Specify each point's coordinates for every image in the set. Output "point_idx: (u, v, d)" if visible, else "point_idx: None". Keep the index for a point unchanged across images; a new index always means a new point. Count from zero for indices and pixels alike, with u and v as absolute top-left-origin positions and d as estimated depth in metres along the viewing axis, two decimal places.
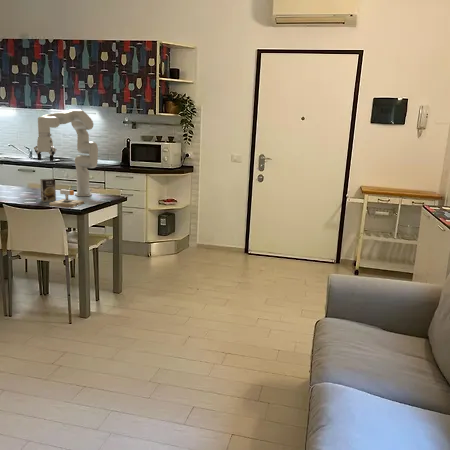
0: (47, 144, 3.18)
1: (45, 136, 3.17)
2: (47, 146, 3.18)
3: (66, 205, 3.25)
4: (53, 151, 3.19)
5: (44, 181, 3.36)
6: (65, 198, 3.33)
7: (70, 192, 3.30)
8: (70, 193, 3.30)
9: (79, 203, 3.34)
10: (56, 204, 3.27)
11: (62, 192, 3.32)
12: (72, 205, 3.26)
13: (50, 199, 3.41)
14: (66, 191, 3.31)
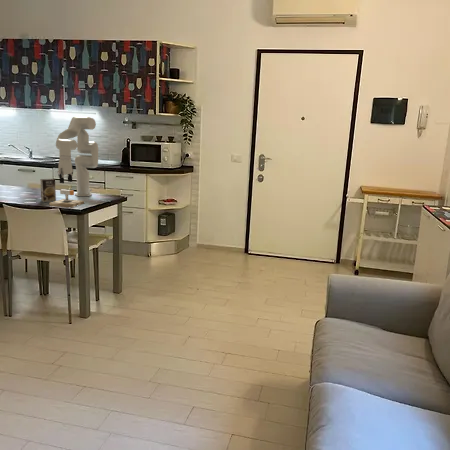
0: (71, 166, 3.31)
1: None
2: (71, 168, 3.31)
3: (66, 205, 3.25)
4: (72, 172, 3.35)
5: (44, 181, 3.36)
6: (65, 198, 3.33)
7: (70, 192, 3.30)
8: (70, 193, 3.30)
9: (79, 203, 3.34)
10: (56, 204, 3.27)
11: (62, 192, 3.32)
12: (72, 205, 3.26)
13: (50, 199, 3.41)
14: (66, 191, 3.31)
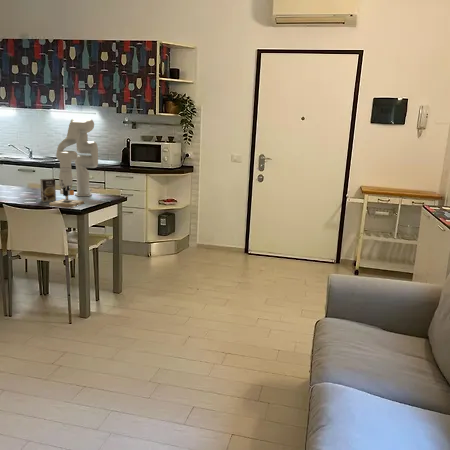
0: (71, 177, 3.33)
1: None
2: (71, 179, 3.33)
3: (66, 205, 3.25)
4: (70, 185, 3.35)
5: (44, 181, 3.36)
6: (65, 198, 3.33)
7: (70, 192, 3.30)
8: (70, 193, 3.30)
9: (79, 203, 3.34)
10: (56, 204, 3.27)
11: (62, 192, 3.32)
12: (72, 205, 3.26)
13: (50, 199, 3.41)
14: None
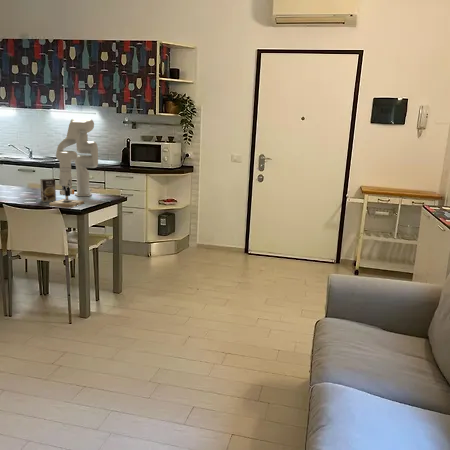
0: None
1: None
2: None
3: (66, 205, 3.25)
4: None
5: (44, 181, 3.36)
6: (66, 198, 3.33)
7: (73, 191, 3.34)
8: (72, 192, 3.34)
9: (79, 203, 3.34)
10: (56, 204, 3.27)
11: (63, 192, 3.30)
12: (72, 205, 3.26)
13: (50, 199, 3.41)
14: None
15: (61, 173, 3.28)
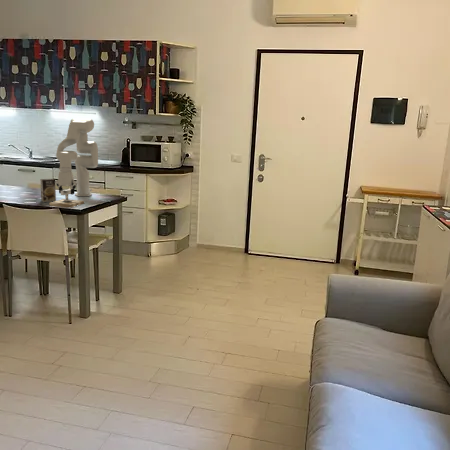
0: None
1: None
2: None
3: (66, 205, 3.25)
4: None
5: (44, 181, 3.36)
6: (66, 198, 3.33)
7: None
8: None
9: (79, 203, 3.34)
10: (56, 204, 3.27)
11: (65, 192, 3.30)
12: (72, 205, 3.26)
13: (50, 199, 3.41)
14: (68, 191, 3.32)
15: (62, 173, 3.27)
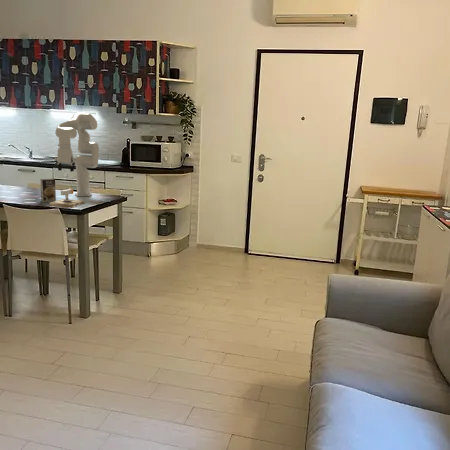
0: None
1: None
2: None
3: (66, 205, 3.25)
4: None
5: (44, 181, 3.36)
6: (66, 198, 3.33)
7: (72, 191, 3.36)
8: (72, 192, 3.35)
9: (79, 203, 3.34)
10: (56, 204, 3.27)
11: (65, 192, 3.30)
12: (72, 205, 3.26)
13: (50, 199, 3.41)
14: (68, 191, 3.32)
15: (61, 150, 3.25)
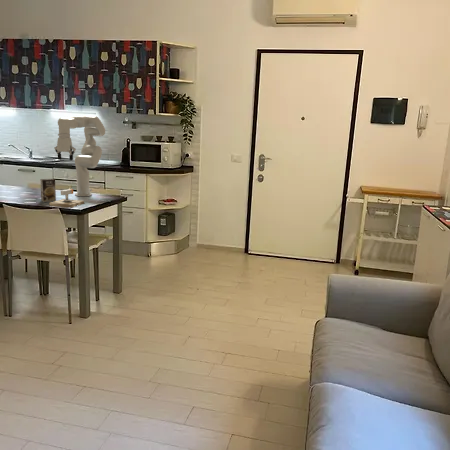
0: None
1: None
2: None
3: (66, 205, 3.25)
4: None
5: (44, 181, 3.36)
6: (66, 198, 3.33)
7: (72, 191, 3.36)
8: (72, 192, 3.35)
9: (79, 203, 3.34)
10: (56, 204, 3.27)
11: (65, 192, 3.30)
12: (72, 205, 3.26)
13: (50, 199, 3.41)
14: (68, 191, 3.32)
15: (61, 139, 3.36)
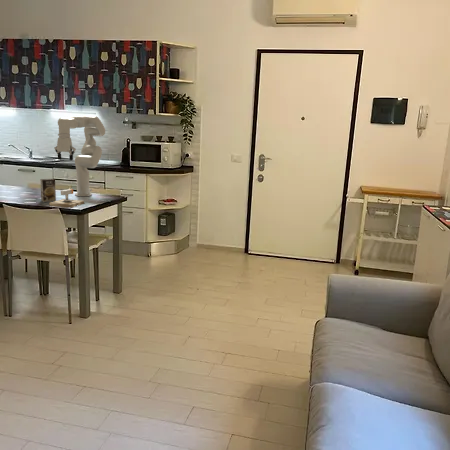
0: None
1: None
2: None
3: (66, 205, 3.25)
4: None
5: (44, 181, 3.36)
6: (66, 198, 3.33)
7: (72, 191, 3.36)
8: (72, 192, 3.35)
9: (79, 203, 3.34)
10: (56, 204, 3.27)
11: (65, 192, 3.30)
12: (72, 205, 3.26)
13: (50, 199, 3.41)
14: (68, 191, 3.32)
15: (61, 139, 3.36)
